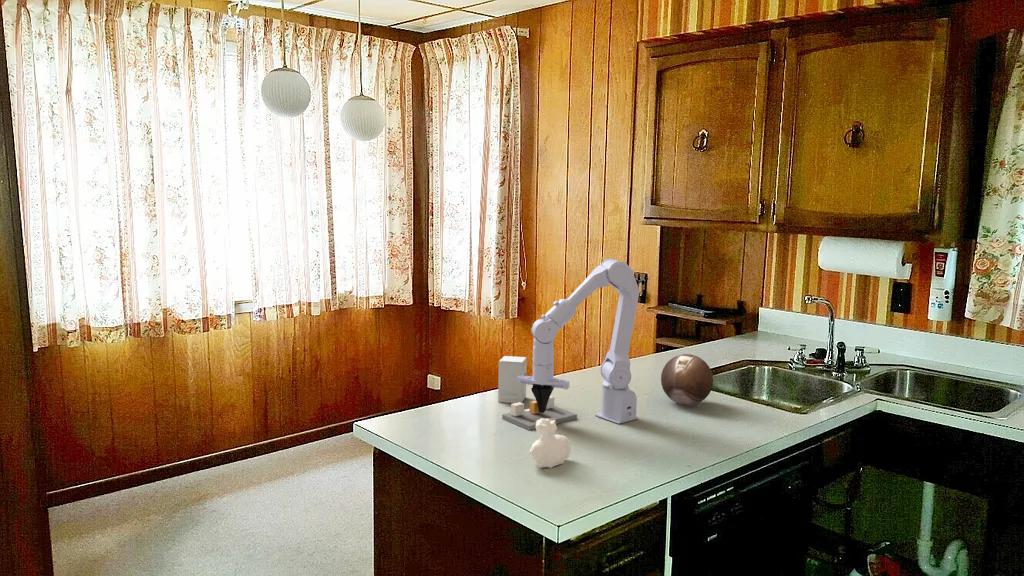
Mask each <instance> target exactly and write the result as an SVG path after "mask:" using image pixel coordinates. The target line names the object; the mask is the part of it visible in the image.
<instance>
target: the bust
mask: <svg viewBox="0 0 1024 576" xmlns="http://www.w3.org/2000/svg"><path fill="white" fill-rule="evenodd" d="M555 421H556V420H553V421H552V420H549V418H548V419H543V418H541V419H539V420H537V421H536V427H535V428H536V429H535V430H536V433H537V434H539V433H540V434H539V435H540V436H539V438H538V439H537V440H535V441H534V443H532V445H531V447H530V450H529V454H530V455H531V457H532V459H533V460H534V461H535V463H536V466H537V467H538V468H550V469H551V468H553V467H556V466H558V465H562V464H564V463H565V461H566V460H567V459H569V457H570V454H571V449H572V448H571V443H570V441H569V438H568V437H567V436H565V435H561V434H555V432H556V430H558V426H557V424H556V423H555Z"/></svg>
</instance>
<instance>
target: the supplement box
mask: <svg viewBox="0 0 1024 576" xmlns="http://www.w3.org/2000/svg"><path fill="white" fill-rule="evenodd" d="M527 362H528V359H527V356H509V355H504V356H503V357H502V358H500V359H499V361H498V374H497V375H498V380H497V381H498V383H497V384H498V386H497V387H498V391H497V399H498V400H497V402H500V403H507V404H508V403H510V404H513V403H518V402H521V403H523V402H524V400H525V399H526V397H527V384H517V377H518V376H527V364H528V363H527Z"/></svg>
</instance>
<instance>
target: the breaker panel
mask: <svg viewBox="0 0 1024 576" xmlns="http://www.w3.org/2000/svg"><path fill="white" fill-rule="evenodd" d="M541 418H543V419H548V418H549V420H552V421H553V420H556V421H555V423H556V425H557V424H560V423H565V422H568V421H573V420H576V419H578V414H577V413H575V412H572V411H570V410H566V409H563V408H561V407H559V406H555V397H554V396H552V395H550V397H549V400H548V403H547V407H546V411H545V412H544V413H536V414H533V413H530V407H529V408H527V409H525V403H523V402H522V403H521V402H518V403H510V412H508V413H503V414H502V415H501V419H502V420H504V421H507V422H508V421H509V423H511V424H514V425H516V426H518V427H520V428H523V429H525V430H528V431H532V430H536V428H535V427H536V421H537V420H539V419H541Z"/></svg>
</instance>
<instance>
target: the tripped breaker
mask: <svg viewBox="0 0 1024 576" xmlns="http://www.w3.org/2000/svg"><path fill="white" fill-rule="evenodd" d="M529 408H530V413H533V414H536V413H541V412H539V409H538V405H537V401H536V400H532V401H529Z"/></svg>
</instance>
